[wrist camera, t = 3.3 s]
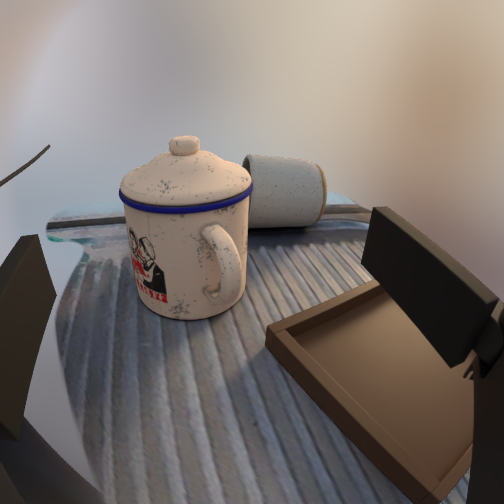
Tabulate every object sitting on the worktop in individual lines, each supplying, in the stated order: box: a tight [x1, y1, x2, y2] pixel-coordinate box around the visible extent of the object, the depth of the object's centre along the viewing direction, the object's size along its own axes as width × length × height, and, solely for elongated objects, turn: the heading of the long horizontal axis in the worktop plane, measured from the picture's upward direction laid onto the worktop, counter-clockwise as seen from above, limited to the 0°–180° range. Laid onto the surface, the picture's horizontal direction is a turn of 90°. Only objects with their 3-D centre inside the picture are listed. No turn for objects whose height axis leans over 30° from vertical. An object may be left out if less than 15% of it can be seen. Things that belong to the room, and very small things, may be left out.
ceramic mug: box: [242, 155, 327, 228], centre depth 35 cm, size 11×8×8 cm
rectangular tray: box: [265, 279, 476, 504], centre depth 18 cm, size 15×15×2 cm
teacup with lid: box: [119, 136, 253, 320], centre depth 22 cm, size 12×9×12 cm
